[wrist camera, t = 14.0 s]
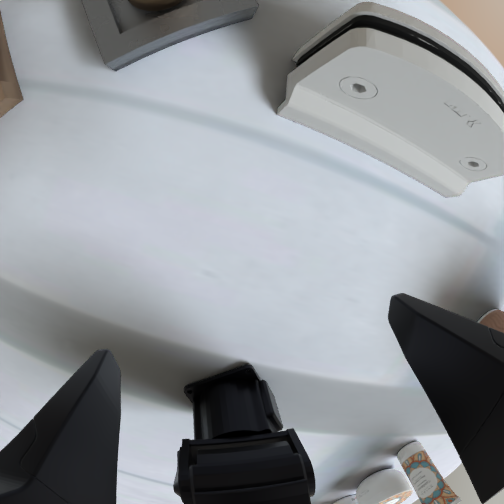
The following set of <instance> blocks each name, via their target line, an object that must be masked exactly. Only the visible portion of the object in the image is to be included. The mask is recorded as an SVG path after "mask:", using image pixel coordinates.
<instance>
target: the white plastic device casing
mask: <svg viewBox="0 0 504 504" xmlns="http://www.w3.org/2000/svg"><path fill="white" fill-rule="evenodd" d="M292 60H293V61H295V62H297V64H296V65H298V67H297V68H296V69H295V70H293V71H292V72H291V73H289V74H288V75H287V88H286V100H285V101H284V102H283V103H282V104H281V105H280V106H279V107H278V110H277V115H279V116H281V117H284V118H286V119H289V120H291V121H294V122H296V123H299V124H301V125H304V126H306V127H308V128H311V129H313V130H315V131H318V132H320V133H322V134H325V135H327V136H329V137H331V138H334V139H336V140H338V141H340V142H342V143H344V144H347V145H349V146H351V147H353V148H355V149H357V150H359V151H361V152H363V153H365V154H367V155H369V156H371V157H373V158H375V159H377V160H379V161H381V162H383V163H385V164H387V165H389V166H391V167H393V168H395V169H396V170H398V171H400V172H402V173H404V174H406V175H407V176H409V177H411V178H413V179H415V180H416V181H418V182H420V183H422V184H423V185H425V186H427V187H428V188H430V189H432V190H434V191H435V192H437V193H439V194H440V195H442V196H444V197H445V198H447V197H457V196H460V195H462V193H463V192H464V191H465V189H466V188H467V187H468V185H469V184H470V183H472V182H477V181H481V180H485V179H489V178H494V177H498V176H502V175H504V91H503V89H502V88H501V86H500V85H499V83H498V82H497V81H496V79H495V78H494V77H493V76H492V74H491V73H490V72H489V71H488V70H487V69H486V68H485V67H484V66H483V64H482V63H481V62H480V61H479V60H478V59H476V58H475V57H474V56H473V55H472V54H471V53H470V52H469V51H467V50H466V49H465V48H464V47H462V46H461V45H460V44H458V43H457V42H456V41H454V40H453V39H452V38H450V37H449V36H447V35H445V34H444V33H442V32H441V31H439V30H437V29H436V28H434V27H432V26H430V25H428V24H427V23H425V22H423V21H421V20H419V19H417V18H415V17H412V16H410V15H407V14H405V13H403V12H400V11H398V10H395V9H392V8H389V7H386V6H383V5H380V4H376V3H373V2H362V3H359V4H357V5H355V6H354V7H353V8H351V9H350V10H348V11H347V12H346V13H344V14H343V15H342V16H340V17H339V18H337V19H336V20H335V21H334V22H332V23H331V24H330V25H328V26H327V27H326V28H324V29H323V30H322V31H321V32H319V33H318V34H317V35H315V36H314V37H313V38H312V39H310V40H309V41H308V42H307V43H305V44H304V45H303V46H302V47H301V48H300V49H299V50H298V51H297V53H296V54H295V56H294V57H293V59H292Z"/></svg>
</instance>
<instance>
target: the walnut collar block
mask: <svg viewBox="0 0 504 504" xmlns="http://www.w3.org/2000/svg"><path fill="white" fill-rule="evenodd" d="M22 100H23V96H22V93H21V90H20V87H19V84H18V81H17V77H16V74H15V71H14V67H13V63H12V60H11V56H10V52H9V48H8V44H7V40H6V36H5V31H4V27H3V22H2V17H1V12H0V118H1V117H2V116H3V115H4V114H6V113H7V112H8V111H9V110H10V109H12V108H13V107H14V106H16V105H17V104H18V103H19V102H21V101H22Z"/></svg>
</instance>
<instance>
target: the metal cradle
mask: <svg viewBox="0 0 504 504" xmlns="http://www.w3.org/2000/svg"><path fill="white" fill-rule="evenodd" d="M82 2H83V5H84V8H85V11H86V14H87V17H88V20H89V23H90V25H91V28H92V31H93V34H94V37H95V39H96V42H97V45H98V47H99V50H100V53H101V55H102V58H103V61H104V63H105V65H106V66H108V67H110V68H111V69H113V70H114V71H118V70H120V69H122V68H124V67H126V66H128V65H130V64H132V63H134V62H136V61H138V60H140V59H142V58H144V57H146V56H149V55H151V54H153V53H155V52H158V51H160V50H162V49H165V48H167V47H170V46H172V45H174V44H177V43H179V42H182V41H185V40H187V39H190V38H193V37H195V36H198V35H201V34H204V33H207V32H209V31H212V30H215V29H219V28H222V27H225V26H228V25H231V24H235V23H238V22H241V21H245V20H249V19H252V17H253V16H254V14H255V12H256V10H257V8H258V6H259V5H258V3H257V1H256V0H183V1H181V2H180V3H179V4H177V5H175V6H173V7H171V8H168V9H165V10H160V11H145V10H141V9H139V8H136V7H135V6H133V5H132V4H131V3H130V2H129V1H128V0H82Z"/></svg>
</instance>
